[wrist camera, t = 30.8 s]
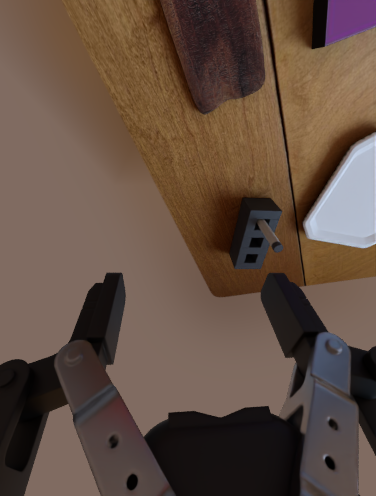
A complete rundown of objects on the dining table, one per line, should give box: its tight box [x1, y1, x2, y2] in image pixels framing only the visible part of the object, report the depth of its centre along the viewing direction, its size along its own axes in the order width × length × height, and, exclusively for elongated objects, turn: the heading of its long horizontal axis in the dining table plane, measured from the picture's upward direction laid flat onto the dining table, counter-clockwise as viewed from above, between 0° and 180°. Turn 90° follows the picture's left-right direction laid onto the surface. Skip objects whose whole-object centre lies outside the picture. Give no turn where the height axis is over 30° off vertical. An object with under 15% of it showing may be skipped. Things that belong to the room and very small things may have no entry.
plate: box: [302, 131, 376, 248], centre depth 41 cm, size 21×21×2 cm
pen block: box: [229, 198, 282, 269], centre depth 42 cm, size 13×6×5 cm, turn 176°
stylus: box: [256, 219, 283, 252], centre depth 37 cm, size 1×1×12 cm
